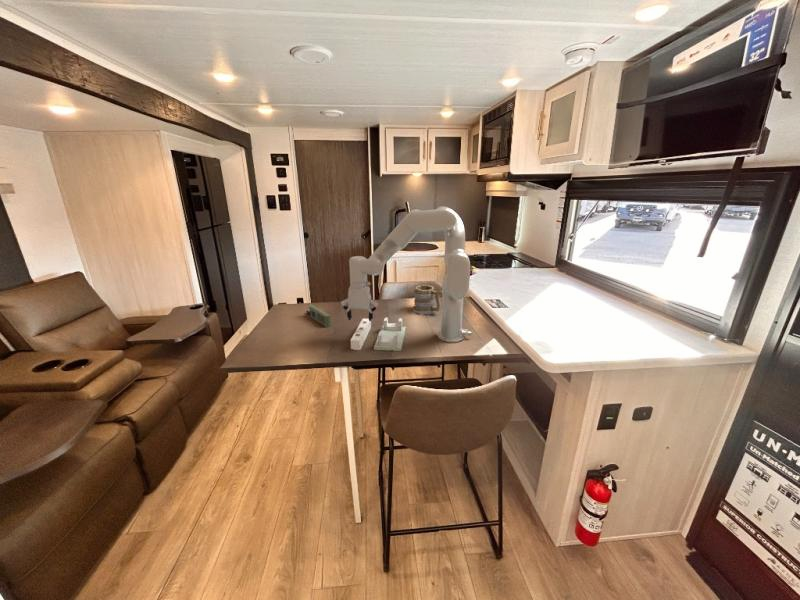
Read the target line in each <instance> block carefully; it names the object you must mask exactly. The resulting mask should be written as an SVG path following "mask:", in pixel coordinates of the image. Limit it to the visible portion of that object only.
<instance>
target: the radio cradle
mask: <svg viewBox="0 0 800 600" xmlns="http://www.w3.org/2000/svg"><path fill="white" fill-rule="evenodd" d="M406 330H407V327H406V326H403V317H402V318H401V317H400V318H398V320H397V323H394V322H393V323H392V322H391V323H390V322H389V318H388V317H385V318H384V319H383V325H381V327H380V330H379V332H378V334H377V339H376V340H375V343H374V346H373V350H375V351H376V350H377V351H391V350H393V351H396V352H402V350H403V344H404V341H405V334H406Z"/></svg>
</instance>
